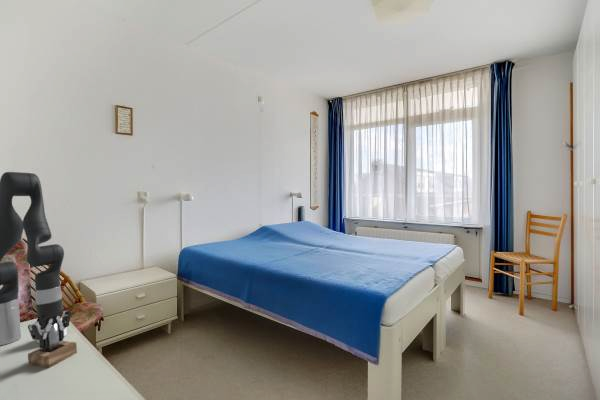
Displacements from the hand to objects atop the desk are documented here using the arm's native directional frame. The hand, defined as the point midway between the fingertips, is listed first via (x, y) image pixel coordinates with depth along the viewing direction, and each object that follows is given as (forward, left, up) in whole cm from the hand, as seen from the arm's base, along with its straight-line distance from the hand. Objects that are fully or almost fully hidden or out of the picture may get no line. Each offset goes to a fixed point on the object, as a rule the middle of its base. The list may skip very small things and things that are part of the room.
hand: (52, 344), depth 113 cm
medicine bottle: (-17, +12, -6) cm, 22 cm away
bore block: (0, 0, -5) cm, 5 cm away
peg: (0, 0, -4) cm, 4 cm away
